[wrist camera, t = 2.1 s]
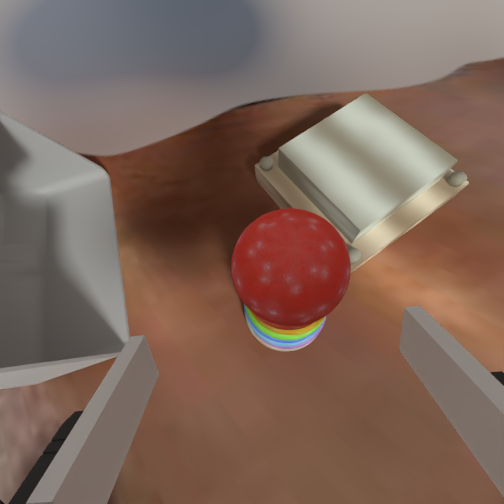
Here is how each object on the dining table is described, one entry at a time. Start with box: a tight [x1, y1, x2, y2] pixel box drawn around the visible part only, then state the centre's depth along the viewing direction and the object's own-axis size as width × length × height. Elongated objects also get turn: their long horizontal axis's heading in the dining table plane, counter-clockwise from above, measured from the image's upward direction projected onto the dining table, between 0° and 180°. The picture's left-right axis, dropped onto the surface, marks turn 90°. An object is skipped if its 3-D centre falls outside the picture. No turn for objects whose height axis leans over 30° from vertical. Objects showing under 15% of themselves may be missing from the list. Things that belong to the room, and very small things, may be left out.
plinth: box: [254, 93, 469, 274], centre depth 28 cm, size 16×16×6 cm
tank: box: [0, 111, 130, 389], centre depth 25 cm, size 25×16×12 cm, turn 18°
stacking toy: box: [231, 208, 351, 351], centre depth 18 cm, size 8×8×19 cm
